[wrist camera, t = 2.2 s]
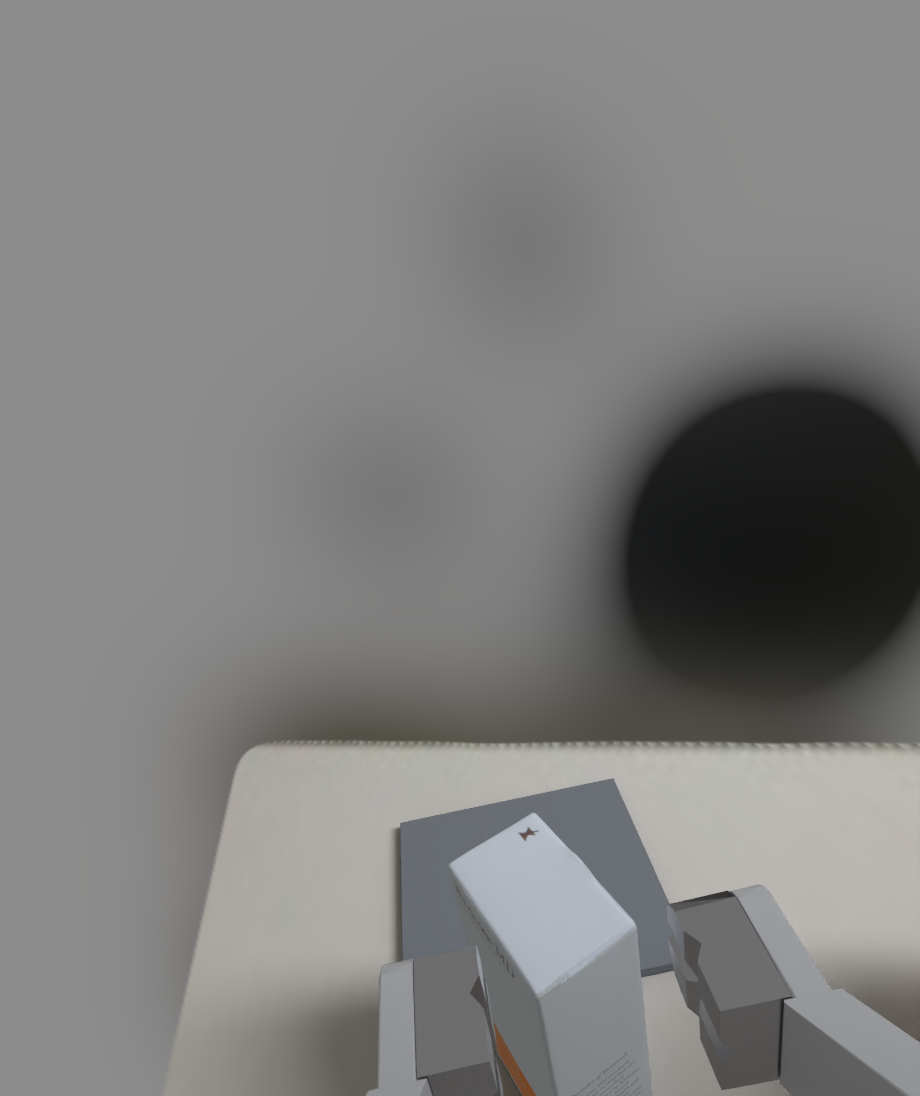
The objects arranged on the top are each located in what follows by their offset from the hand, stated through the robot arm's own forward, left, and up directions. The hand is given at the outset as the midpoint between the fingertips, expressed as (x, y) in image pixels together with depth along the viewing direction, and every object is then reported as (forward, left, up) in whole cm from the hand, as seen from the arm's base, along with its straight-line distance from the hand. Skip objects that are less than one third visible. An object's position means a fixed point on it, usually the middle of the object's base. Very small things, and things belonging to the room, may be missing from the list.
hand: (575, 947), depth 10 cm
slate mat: (0, -19, -22) cm, 29 cm away
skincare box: (0, -9, -22) cm, 24 cm away
